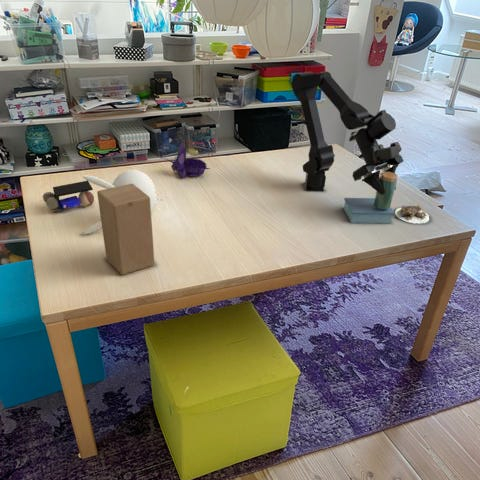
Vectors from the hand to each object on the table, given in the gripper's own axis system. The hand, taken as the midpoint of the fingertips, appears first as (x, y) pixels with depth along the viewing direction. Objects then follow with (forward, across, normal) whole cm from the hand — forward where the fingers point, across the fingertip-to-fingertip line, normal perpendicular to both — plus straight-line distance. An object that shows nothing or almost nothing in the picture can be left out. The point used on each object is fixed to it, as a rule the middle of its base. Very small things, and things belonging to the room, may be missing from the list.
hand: (388, 192), depth 158 cm
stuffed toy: (-23, -71, +38) cm, 84 cm away
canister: (+3, 0, +5) cm, 5 cm away
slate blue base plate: (+3, -2, +11) cm, 11 cm away
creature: (-39, -32, +54) cm, 74 cm away
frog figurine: (+10, +11, +4) cm, 15 cm away
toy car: (-38, -79, +52) cm, 102 cm away
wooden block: (-10, -80, +24) cm, 84 cm away
